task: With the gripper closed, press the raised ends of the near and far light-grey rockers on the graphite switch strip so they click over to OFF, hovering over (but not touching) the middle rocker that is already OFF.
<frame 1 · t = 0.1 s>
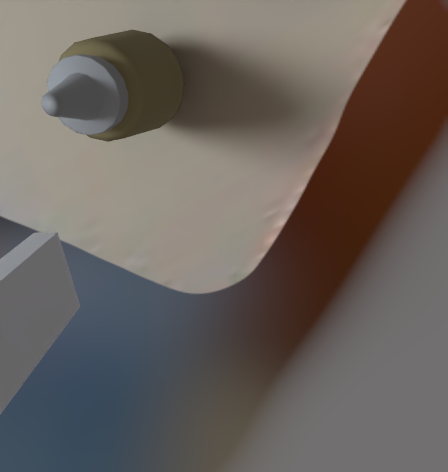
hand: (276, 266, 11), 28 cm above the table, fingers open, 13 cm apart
squeeze bottle: (150, 80, 36), on the table
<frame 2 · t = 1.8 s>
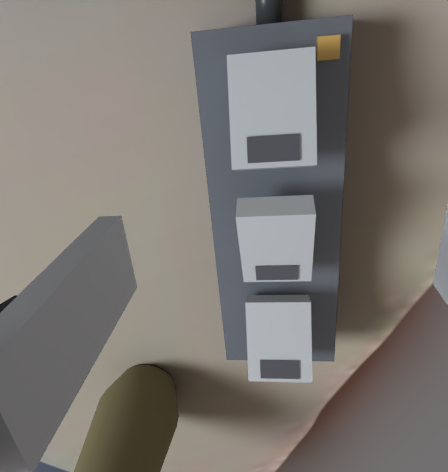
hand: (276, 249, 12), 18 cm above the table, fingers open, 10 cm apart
rocker b: (275, 242, 24), point 6 cm above the table, hinge at 18.0°
rocker c: (278, 337, 28), point 6 cm above the table, hinge at -18.0°
rocker a: (272, 113, 21), point 6 cm above the table, hinge at -18.0°
switch strip: (274, 205, 30), on the table
squeeze bottle: (149, 381, 41), on the table
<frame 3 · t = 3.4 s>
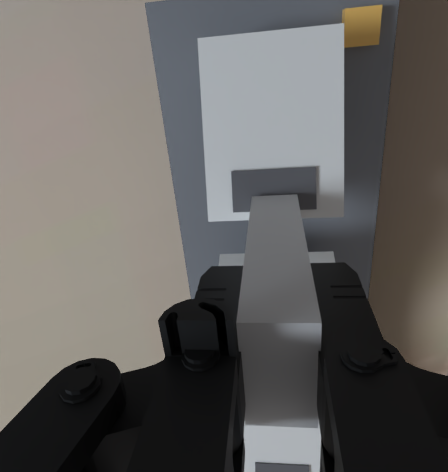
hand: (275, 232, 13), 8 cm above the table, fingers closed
rocker b: (277, 313, 17), point 6 cm above the table, hinge at 18.0°
rocker c: (280, 430, 20), point 6 cm above the table, hinge at -18.0°
rocker a: (271, 131, 13), point 6 cm above the table, hinge at -17.5°, touching gripper
switch strip: (275, 245, 22), on the table
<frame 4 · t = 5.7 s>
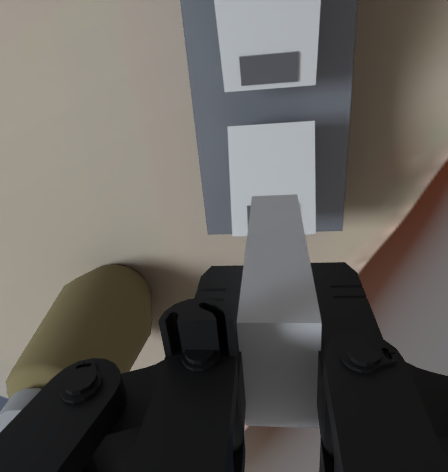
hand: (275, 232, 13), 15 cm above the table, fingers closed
rocker b: (267, 18, 18), point 6 cm above the table, hinge at 18.0°
rocker c: (271, 180, 21), point 6 cm above the table, hinge at -18.0°
switch strip: (267, 22, 23), on the table
squeeze bottle: (120, 288, 34), on the table
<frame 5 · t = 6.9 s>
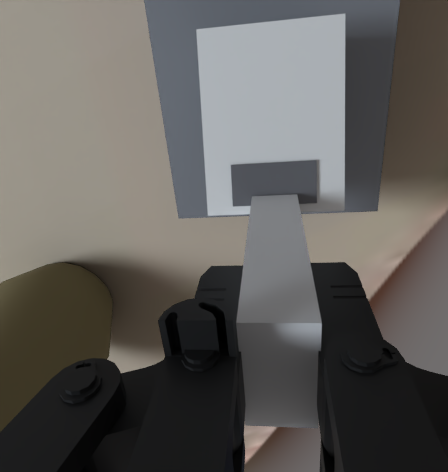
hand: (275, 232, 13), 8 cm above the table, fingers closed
rocker c: (271, 124, 13), point 6 cm above the table, hinge at -16.9°, touching gripper
squeeze bottle: (74, 295, 26), on the table
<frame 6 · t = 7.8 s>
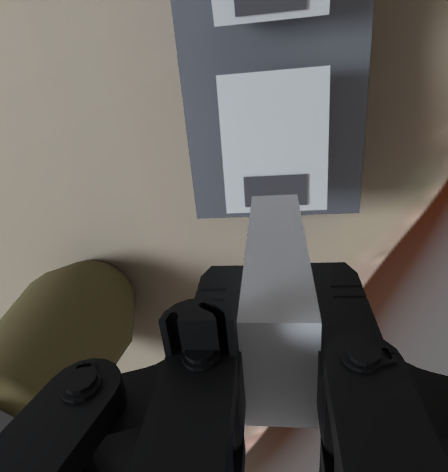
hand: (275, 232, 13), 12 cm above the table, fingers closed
rocker c: (273, 143, 17), point 6 cm above the table, hinge at -3.4°
squeeze bottle: (100, 289, 30), on the table
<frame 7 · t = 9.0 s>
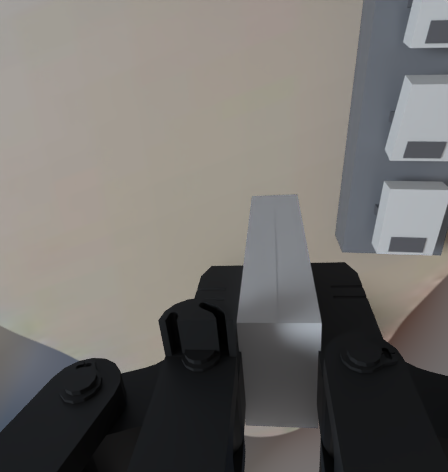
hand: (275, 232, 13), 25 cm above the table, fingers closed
rocker b: (429, 120, 28), point 6 cm above the table, hinge at 18.0°
rocker c: (408, 218, 31), point 6 cm above the table, hinge at 5.2°
switch strip: (401, 110, 34), on the table
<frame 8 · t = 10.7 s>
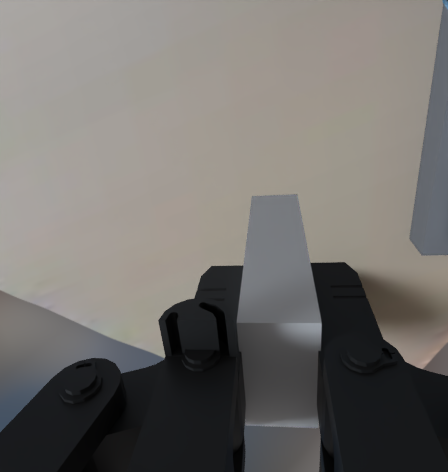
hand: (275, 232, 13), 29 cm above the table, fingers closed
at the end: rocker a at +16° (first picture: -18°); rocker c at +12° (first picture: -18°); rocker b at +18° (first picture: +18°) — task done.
